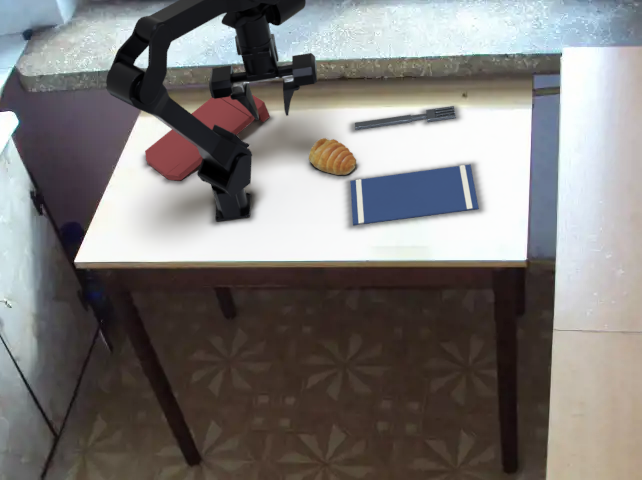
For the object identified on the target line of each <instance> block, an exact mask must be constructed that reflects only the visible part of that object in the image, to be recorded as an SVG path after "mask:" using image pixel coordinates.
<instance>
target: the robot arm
mask: <svg viewBox="0 0 642 480" xmlns="http://www.w3.org/2000/svg"><path fill="white" fill-rule="evenodd" d="M306 1H307V0H176V1H175V2H173V3H170V4H169V5H167V6H165V7H163V8H162V9H160V10H158V11H155V12H154V13H152V14H150V15H146V16H142V17H140V18H139V19H138V20H137V22H136V23H135V25H134V28H133V30H132V33H131V35H130V36H129V37H128V38H127V39H126V40H125V42H123V44H122V45H121V46H120V47H119V48H118V50H117V51H116V53H115V56H114V58H113V61H112V64H111V66H110V69H108V72H107V75H106V81H105V83H106V87H105V88H106V91H107V92H108V93H109V95H111V96H112V97H114V98H116V99H118V100H120V101H122V102H123V103H126V104H128V105H129V106H131V107H133V108H135V109H137V110H139V111H142V112H144V113H147V114H149V115H151V116H153V117H154V118H156V119H157V120H158V121H160V122H161V123H163V124H164V125H166V126H167V127H168V128H169V129H170V130H174V131H175V132H177V133H178V134H179V135H181V136H182V137H183V138H185V139H186V140H188V141H189V142H190V143H192V144H193V145H194V146H196V147H197V148H198V151H199V154H200V155H201V156H202V158H203V159H202V162H201V164H200V165H199V166H198V167H199V168H198V171H197V173H196V175H197V177H198V178H199V179H200V180H201V181H202V182H205V183H207V184H209V185H210V189H211V192H212V195H213V198H214V202H215V214H214V215H215V216H214V220H215V222H223V221H231V220H238V219H245V218H246V219H247V218H250V217H251V209H252V208H251V207H252V193H251V192H246V190H245V188H247V187H248V186H249V185H251V179H252V166H253V165H252V163H253V162H252V158H253V153H252V150H251V149H250V148H249V147H250V146H251V145H250V143H248V142H246V141H243V140H242V139H241V138H240V136H238V134H237V135H236V134H234V133H232V132H230V131H228V130H226V129H224V128H222V127H220V126H218V125H216V124H214V127H213V129H212V130H211V129H210V128H209V127H208V126H206V125H205V124H204V123H202V122H201V121H200V120H198V119H197V118H196V117H195V116H193V115H192V113H191V112H190V111H188V110H187V109H185V108H184V107H183V106H182V105H181V104H179V103H178V102H177V101H175V100H174V99H173V98H171V96H170V95H169V91H168V90H167V88H166V86H165V85H164V84H163V83H164V81H165V79H166V76H167V74H168V52H169V50H170V46H171V44H172V42H174V41H176V40H178V39H179V38H181V37H183V36H185V35H186V34H189V33H190V32H193V31H194V30H196V29H197V28H199V27H201V26H203V25H206V24H207V23H208V22H211V21H212V20H214V19H216V18H217V17H219V16H221V15H223V17H222V19H221V24H222V25H224V26H226V27H229V28H232V29H234V30H235V36H234V40H235V48H236V54H237V56H241V59H242V63H243V67H244V71H240V72H235V71H234V68H233V66H232V65H225V66H218V67H212V68H211V71H210V73H209V82H208V87H209V92H210V96H211V98H214V99H218V98H224V97H229V96H230V98H231V99H232V100H237V101H238V102H240V103H241V104H242V105H243V106H244V107H245V108H246V109H247V110H248V111H249V112H250V113H251V114H252V115H253V117H254V118H255V120H256V121H260V120H259V115H258V110H257V107H256V104H255V101H254V98H253V96H252V95H253V93H252V90H251V87H250V84H254V83H255V84H256V83H262V82H269V81H273V80H275V81H276V80H280V79H282V96H283V109H284V114H285V116H286V117H288V116H289V112H290V107H291V101H292V98H293V95H294V93H295V91H299V90H300V88H301V87H302V86H309V85H310V86H311V85H315V84H316V83H317V82H318V66H317V59H316V56H315V54H313V53H312V52H309V53H308V52H307V53H302V54H295V55H292V56H291V57H292V58H291V61H289V62H284V63H283V64H282V65H278V62H279V58H280V57H279V53H278V49H277V44H276V38H275V34H274V33H272V32H271V27H270V24H271V25H273V26H276V27H278V26H281V25H282V24H285V22H286V21H288V20H289V19H291V18H292V17H294V16H295V15H297V14H298V13H300V12H301V11H303V10H304V9H305V7H306V4H307V2H306ZM224 14H225V15H224ZM147 48H148V57H147V59H148V61H147V67H146V70H145V69H143V68H141V67H139V66H137V65H135V63H136V60H137V59H138V58H139V57H140V56H141V55H142V54H143V53H144V52H145V50H146V49H147Z"/></svg>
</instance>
